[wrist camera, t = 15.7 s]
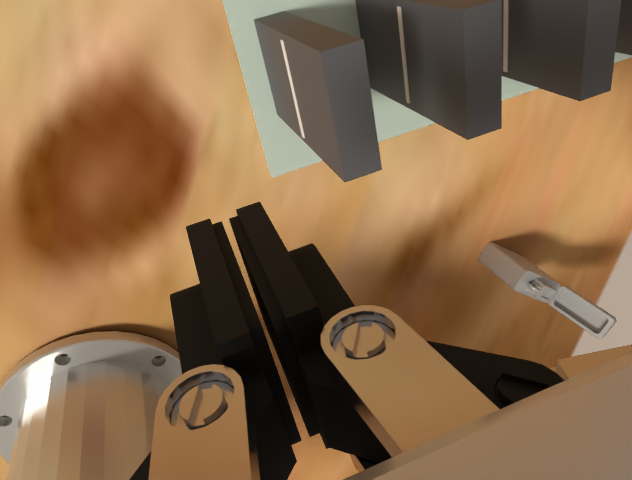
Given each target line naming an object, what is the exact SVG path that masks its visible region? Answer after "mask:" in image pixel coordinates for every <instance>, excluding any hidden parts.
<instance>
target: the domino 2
mask: <svg viewBox="0 0 632 480" xmlns="http://www.w3.org/2000/svg"><path fill="white" fill-rule="evenodd" d="M355 1H356V8H357V15H358V22H359V29H360V36H361V39H364V46H365V53H366V60H367V67H368V74H369V81H370V88H371V89H373V90H375V91H377V92H379V93H381V94H383V95H384V96H386V97H388V98H390V99H392V100H394V101H396V102H398V103H400V104H401V105H403V106H405V107H407V108H409V109H411V110H413V111H415V112H416V113H418V114H420V115H422V116H424V117H426V118H428V119H430V120H431V121H433V122H435V123H437V124H439V125H441V126H443V127H445V128H446V129H448V130H450V131H452V132H454V133H456V134H458V135H460V136H461V137H463V138H465V139H467V140H469V139H472V138H475V137H478V136H480V135H483V134H486V133H489V132H492V131H495V130H498V129H501V105H502V0H355Z"/></svg>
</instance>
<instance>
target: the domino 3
mask: <svg viewBox="0 0 632 480" xmlns="http://www.w3.org/2000/svg"><path fill="white" fill-rule="evenodd" d="M620 8H621V0H502V76H503V77H506V78H510V79H513V80H516V81H519V82H522V83H525V84H528V85H531V86H534V87H538V88H541V89H544V90H547V91H550V92H553V93H556V94H559V95H562V96H566V97H569V98H572V99H575V100H578V101H582V100H584V99H587V98H590V97H593V96H596V95H599V94H602V93H605V92H608V91H610V90H611V83H612V74H613V66H614V58H615V49H616V41H617V33H618V24H619V16H620Z"/></svg>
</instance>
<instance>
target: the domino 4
mask: <svg viewBox="0 0 632 480" xmlns="http://www.w3.org/2000/svg"><path fill="white" fill-rule="evenodd" d="M615 52H617V53H622V54H627V55H632V0H621V8H620V16H619V24H618V33H617V41H616V49H615Z"/></svg>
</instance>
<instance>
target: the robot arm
mask: <svg viewBox="0 0 632 480" xmlns="http://www.w3.org/2000/svg"><path fill="white" fill-rule="evenodd" d="M236 211H237V215H238V216H236V217H233V218H230V219H229V220H230V223H231V226H232V229H233V232H234V235H235V238H236V241H237V244H238V247H239V250H240V253H241V256H242V259H243V262H244V264H245V267H246V270H247V273H248V276H249V279H250V282H251V285H252V288H253V291H254V294H255V297H256V300H257V303H258V306H259V308H260V311H261V314H262V317H263V320H264V322H265V325H266V327H267V330H268V332H269V335H270V338H271V340H272V343H273V345H274V348H275V350H276V353H277V355H278V358H279V360H280V363H281V365H282V368H283V370H284V373H285V375H286V378H287V381H288V383H289V386H290V388H291V391H292V393H293V396H294V398H295V401H296V403H297V406H298V408H299V411H300V413H301V416H302V418H303V421H304V423H305V426H306V429H307V431H308V434H309V436H310V437H311V436H313V435H316V434H318V433H320V435H321V437H322V440H323V442H324V444H325V447H326V449H327V448H333V449H336V450H339V451H342V452H346V453H349V454H350V456H351V459H352V461H353V463H354V465H355V467H356V469H357V470H358V472H359V473H357V474H355V475H352V476H350V477H348V478H346V479H344V480H632V345H628V346H623V347H618V348H613V349H608V350H603V351H598V352H593V353H588V354H584V355H579V356H574V357H569V358H564V359H559V360H557V363H556V367H553V368H547V367H546V366H544V365H541V364H538V363H535V362H532V361H528V360H523V359H518V358H513V357H507V356H502V355H497V354H492V353H487V352H482V351H476V350H471V349H466V348H461V347H456V346H451V345H446V344H440V343H435V342H430V341H425V340H424V339H423V338H422V337H421V336H420V335H419V334H417V333H416V332H415V331H414V330H413V329H412V328H411V327H410V326H409V325H408V324H407V323H405V322H404V321H403V320H402V319H401V318H400V317H399V316H398V315H397V314H395V313H393V312H392V311H390V310H389V309H386V308H383V307H380V306H374V305H362V306H354V304H353V303H352V301H351V300H350V298H349V296H348V295H347V293H346V292H345V290H344V289H343V287H342V286H341V284H340V283H339V281H338V280H337V278H336V277H335V275H334V274H333V272H332V271H331V269H330V268H329V266H328V265H327V263H326V262H325V260H324V259H323V257H322V256H321V254H320V253H319V251H318V250H317V248H316V247H315V246H314V244H309V245H306V246H303V247H300V248H298V249H295V250H292V251H289V252H288V251H287V249H286V247H285V246H284V244H283V242H282V240H281V238H280V237H279V235H278V233H277V231H276V230H275V228H274V226H273V224H272V222H271V221H270V219H269V217H268V215H267V214H266V212H265V210H264V208H263V206H262V205H261V203H260V202H257V203H254V204H251V205H248V206H245V207H242V208H239V209H236ZM186 229H187V233H188V237H189V241H190V245H191V249H192V253H193V257H194V261H195V265H196V269H197V273H198V277H199V281H200V284H198V285H195V286H192V287H190V288H187V289H184V290H181V291H179V292H176V293H173V294H171V295H170V300H171V307H172V313H173V320H174V326H175V332H176V339H177V345H178V351H179V353H178V352H177V351H176V350H174V349H173V348H172V347H170V346H169V345H167V344H165V343H163V342H160V341H158V340H156V339H154V338H151V337H147V336H143V335H140V334H136V333H128V332H119V331H106V332H91V333H86V334H80V335H74V336H71V337H68V338H65V339H62V340H58V341H55V342H52V343H50V344H48V345H46V346H44V347H42V348H40V349H38V350H36V351H34V352H33V353H31V354H30V355H29V356H27V357H26V358H25V359H23V360H22V361H20V362H19V363H18V364H17V365H16V366H15V367H14V368H13V369H12V370H11V371H10V372H9V373H8V374H7V375H6V376H5V378H4V379H3V381H2V383H1V384H0V455H1V456H2V457H3V458H4V459H5V460H6V461H7V462H8V463H9V468H8V473H7V478H6V480H287V479H288V477H289V475H290V473H291V471H292V469H293V467H294V465H295V463H296V462H297V460H296V458H295V455H294V452H293V449H292V446H291V445H293V444H295V443H297V442H299V441H301V437H300V435H299V432H298V429H297V426H296V423H295V420H294V417H293V414H292V411H291V409H290V406H289V403H288V400H287V397H286V394H285V391H284V388H283V385H282V383H281V380H280V377H279V374H278V371H277V368H276V365H275V362H274V359H273V357H272V354H271V351H270V348H269V345H268V342H267V339H266V336H265V334H264V331H263V328H262V325H261V323H260V320H259V317H258V315H257V312H256V310H255V307H254V304H253V302H252V299H251V297H250V294H249V291H248V289H247V286H246V284H245V281H244V278H243V276H242V273H241V271H240V268H239V265H238V263H237V260H236V258H235V255H234V252H233V250H232V247H231V245H230V242H229V239H228V237H227V234H226V232H225V229H224V226H223V224H222V221H221V222H218V223H216V224H213V225H212V223H211V220H210V219H207V220H204V221H201V222H198V223H195V224H192V225H189V226H186Z"/></svg>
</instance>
